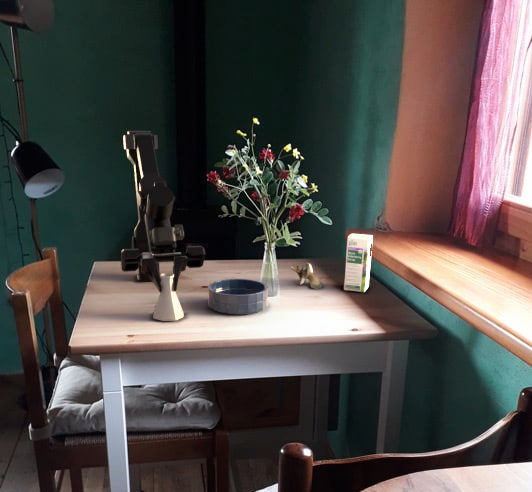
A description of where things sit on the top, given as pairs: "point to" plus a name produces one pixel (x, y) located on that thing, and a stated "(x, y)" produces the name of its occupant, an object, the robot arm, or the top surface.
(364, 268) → the syrup box
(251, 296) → the blue faceted bowl
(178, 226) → the robot arm
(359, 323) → the top surface
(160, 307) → the flask
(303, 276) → the animal figurine
